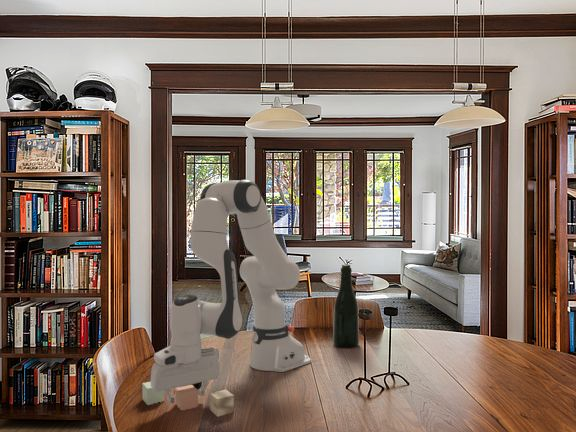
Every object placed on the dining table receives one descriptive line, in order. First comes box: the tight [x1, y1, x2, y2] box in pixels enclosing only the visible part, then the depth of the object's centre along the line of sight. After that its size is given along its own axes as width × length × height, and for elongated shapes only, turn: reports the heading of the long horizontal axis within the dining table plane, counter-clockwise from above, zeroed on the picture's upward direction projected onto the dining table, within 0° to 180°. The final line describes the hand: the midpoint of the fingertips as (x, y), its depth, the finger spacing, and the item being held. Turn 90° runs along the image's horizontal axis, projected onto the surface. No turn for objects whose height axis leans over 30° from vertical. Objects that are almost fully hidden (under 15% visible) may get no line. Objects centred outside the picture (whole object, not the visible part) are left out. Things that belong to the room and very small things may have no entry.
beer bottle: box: [332, 263, 360, 349], centre depth 202 cm, size 10×10×33 cm
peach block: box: [174, 385, 199, 412], centre depth 144 cm, size 5×5×5 cm
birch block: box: [209, 389, 235, 417], centre depth 141 cm, size 5×5×5 cm
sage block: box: [141, 381, 165, 406], centre depth 148 cm, size 5×5×5 cm
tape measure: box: [181, 382, 203, 390], centre depth 157 cm, size 7×7×4 cm
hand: (186, 399), depth 144 cm, fingers open, 8 cm apart
